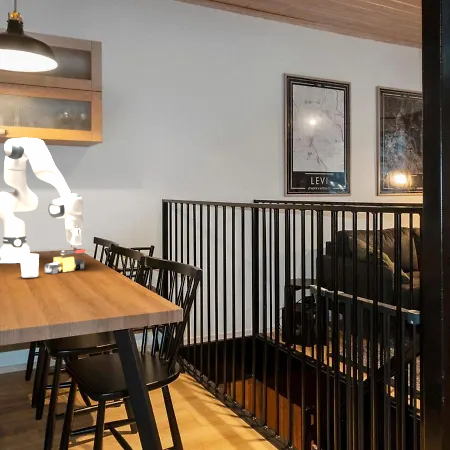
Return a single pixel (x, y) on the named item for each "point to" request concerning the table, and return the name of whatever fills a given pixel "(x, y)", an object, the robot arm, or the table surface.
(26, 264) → the white cup
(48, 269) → the valve
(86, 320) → the table surface
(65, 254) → the lever
